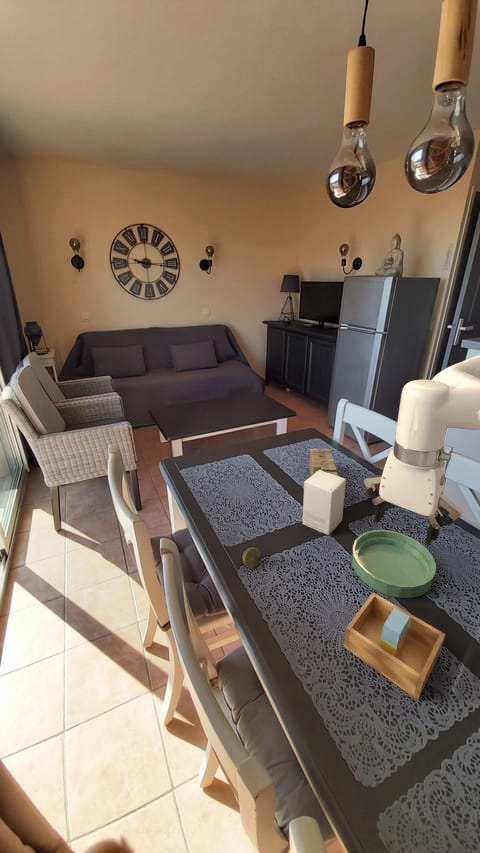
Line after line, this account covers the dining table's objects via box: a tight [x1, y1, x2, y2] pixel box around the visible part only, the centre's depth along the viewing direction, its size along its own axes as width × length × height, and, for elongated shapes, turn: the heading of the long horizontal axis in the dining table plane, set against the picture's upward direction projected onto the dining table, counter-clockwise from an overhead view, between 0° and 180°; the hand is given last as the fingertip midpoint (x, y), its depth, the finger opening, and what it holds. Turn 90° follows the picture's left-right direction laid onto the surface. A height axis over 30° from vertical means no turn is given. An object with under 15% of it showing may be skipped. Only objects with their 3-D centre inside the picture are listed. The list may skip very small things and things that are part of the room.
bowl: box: [351, 529, 437, 599], centre depth 91 cm, size 19×19×4 cm
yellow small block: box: [380, 631, 407, 657], centre depth 71 cm, size 3×5×4 cm, turn 136°
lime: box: [242, 547, 262, 570], centre depth 93 cm, size 4×5×5 cm
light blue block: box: [381, 608, 410, 649], centre depth 70 cm, size 3×5×4 cm, turn 136°
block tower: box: [308, 448, 339, 477], centre depth 123 cm, size 8×8×29 cm
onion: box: [365, 483, 380, 499], centre depth 117 cm, size 6×6×8 cm
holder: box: [343, 592, 446, 701], centre depth 71 cm, size 15×12×6 cm
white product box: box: [302, 470, 347, 536], centre depth 105 cm, size 9×9×15 cm
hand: (403, 529), depth 70 cm, fingers open, 9 cm apart
